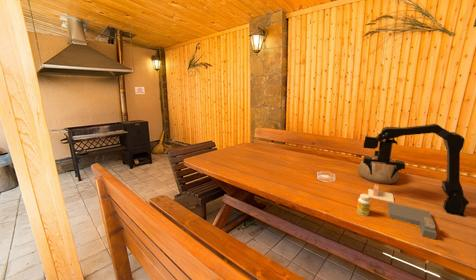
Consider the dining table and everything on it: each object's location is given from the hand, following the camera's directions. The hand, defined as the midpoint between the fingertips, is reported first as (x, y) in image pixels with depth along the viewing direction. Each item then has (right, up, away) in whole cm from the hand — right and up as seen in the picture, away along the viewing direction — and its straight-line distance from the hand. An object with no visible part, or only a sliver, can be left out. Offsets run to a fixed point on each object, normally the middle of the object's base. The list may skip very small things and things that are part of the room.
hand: (380, 176), depth 116 cm
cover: (+1, -12, +3) cm, 12 cm away
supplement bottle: (-18, -16, -13) cm, 28 cm away
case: (0, -17, -20) cm, 26 cm away
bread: (+16, -5, +27) cm, 32 cm away
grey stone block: (+1, -16, -28) cm, 32 cm away
